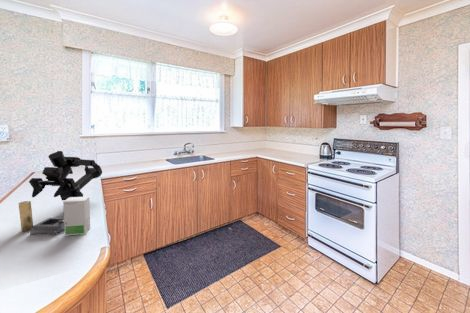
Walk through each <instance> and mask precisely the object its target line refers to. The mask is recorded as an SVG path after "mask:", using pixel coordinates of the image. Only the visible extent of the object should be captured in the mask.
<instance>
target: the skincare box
mask: <svg viewBox="0 0 470 313" xmlns="http://www.w3.org/2000/svg"><path fill="white" fill-rule="evenodd" d="M62 203H63V205H62V206H63V218H64V236H65V237H66V236H77V235H79V234H80V235H86V234H87V233H88V232H89V231H90V229H91V211H90V210H91V209H90V207H91V206H90V196H83V197H69V198H68V199H66V200H62ZM87 231H88V232H87ZM80 235H79V236H80Z"/></svg>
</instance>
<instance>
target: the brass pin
mask: <svg viewBox="0 0 470 313" xmlns="http://www.w3.org/2000/svg"><path fill="white" fill-rule="evenodd" d="M18 210H19V220H20V228H21V229H20V230H21V232H22V233H27V232H30V230H32V229H33V226H34V221H33V220H34V219H33V212H32V211H33V210H32V201H30V200H27V201H26V200H25V201H21V202H19V203H18Z"/></svg>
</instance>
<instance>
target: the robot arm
mask: <svg viewBox="0 0 470 313" xmlns="http://www.w3.org/2000/svg"><path fill="white" fill-rule="evenodd" d="M48 159H49V160H50V162H51V164H52V166H45V167H44V168H43V170H42V173H41V174H43V175H44V176H45V180H44V179H42V177H41V178H40V177H39V178H38V177H37V178H36V177H35V178H34V177H32V178H31V179H29V180H28V182H29V184H30V186H31V187H32V195H31V198H35V197H37V196H38V195H39V194H40V193H41V192H43V191H44V189H45V188H46V186H51V187H58V188H57V190H56V191H55V193H54V194H53V197H54V198H57V197H58V196H60V199H61V201H65V200H66V199H68V198H69V197H84V193H83V192H82V189H83V188H84V187H86V185H88V184H89V182H91V181H92V180H93V179H97V178H99V177H101V175H102V174H103V170H102V167H101V166H100V165H99V164H97V163H96V161H95V159H82V158H80V157H77V156H65V155H64V153H63V151H62V150H57V151H56V152H52V153H50V154H49V155H48ZM80 166H84V170H83V171H84V173H85V174H84V175H83V176H81V177H80V178H79V179H77V180H76V181H75V180H74V178H73V177H72V178H71V177H68V176H69V175H73V173H74V172H73V169H72V168H78V167H80ZM67 177H68V178H67Z"/></svg>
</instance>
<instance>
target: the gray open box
mask: <svg viewBox="0 0 470 313" xmlns="http://www.w3.org/2000/svg"><path fill="white" fill-rule="evenodd" d="M63 229H64V217H48V218H46V219H44V220H41V221H40V222H38V223H36V224H33V229H32V230H30V231H29V235H30V236H55V235H57V234H59V233H60V232H62V231H63ZM61 230H62V231H61ZM64 230H65V229H64ZM59 231H60V232H59ZM58 232H59V233H58ZM56 233H57V234H56Z"/></svg>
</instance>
